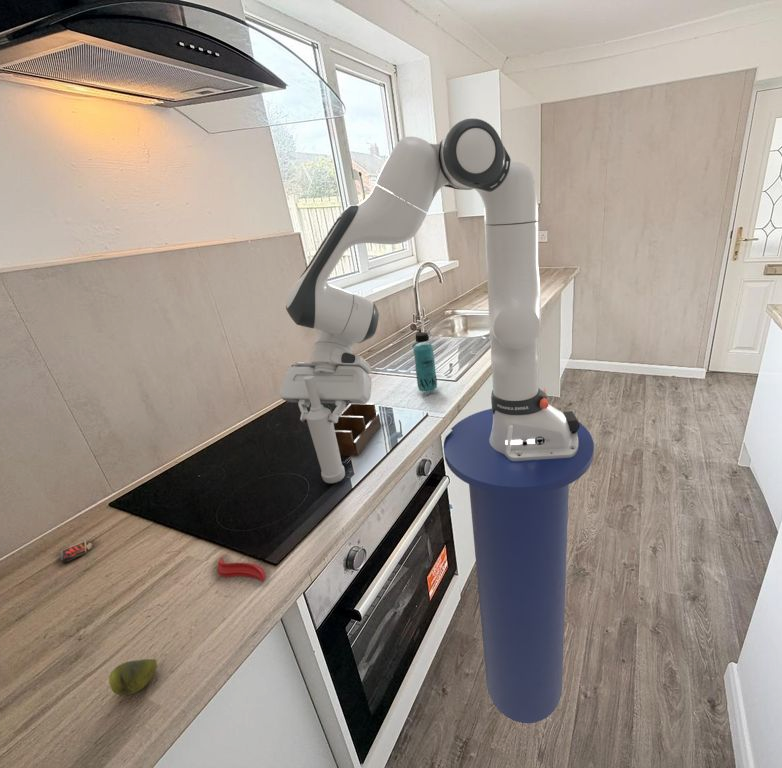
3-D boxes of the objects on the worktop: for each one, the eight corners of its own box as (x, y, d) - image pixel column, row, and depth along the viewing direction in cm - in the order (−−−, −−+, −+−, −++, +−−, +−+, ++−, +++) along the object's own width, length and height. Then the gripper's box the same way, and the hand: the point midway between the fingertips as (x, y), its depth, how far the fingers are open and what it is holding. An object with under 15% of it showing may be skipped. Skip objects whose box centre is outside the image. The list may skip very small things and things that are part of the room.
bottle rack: (381, 425, 118) (377, 403, 115) (358, 456, 104) (353, 432, 101) (354, 424, 119) (350, 402, 117) (328, 454, 106) (322, 431, 103)
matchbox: (65, 564, 78) (64, 563, 77) (56, 554, 80) (55, 552, 80) (95, 548, 81) (94, 546, 81) (86, 538, 84) (85, 537, 84)
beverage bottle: (414, 392, 136) (406, 334, 128) (430, 385, 140) (423, 329, 132) (426, 398, 132) (418, 338, 123) (442, 391, 135) (436, 332, 127)
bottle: (350, 474, 95) (327, 374, 85) (332, 486, 91) (306, 384, 81) (335, 467, 98) (311, 370, 88) (317, 479, 94) (290, 380, 84)
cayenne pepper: (209, 566, 75) (206, 559, 74) (234, 549, 78) (231, 541, 77) (246, 595, 68) (242, 587, 67) (271, 575, 72) (268, 567, 71)
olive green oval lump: (113, 693, 56) (97, 670, 53) (152, 661, 59) (138, 638, 57) (128, 711, 53) (111, 688, 51) (168, 676, 57) (154, 653, 55)
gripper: (281, 356, 92) (266, 416, 87) (366, 356, 88) (356, 419, 83) (297, 367, 98) (284, 424, 93) (378, 367, 93) (368, 427, 89)
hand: (318, 421), depth 88 cm, fingers closed on bottle, 5 cm apart
